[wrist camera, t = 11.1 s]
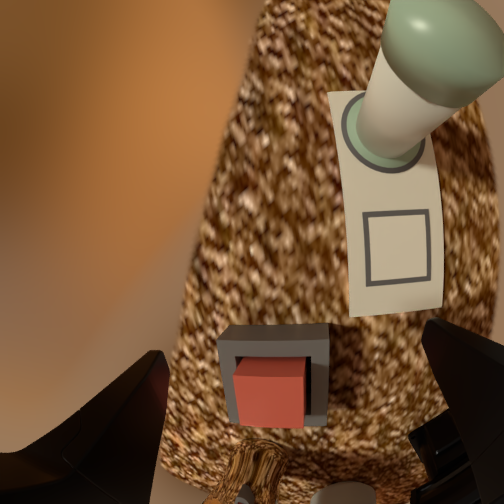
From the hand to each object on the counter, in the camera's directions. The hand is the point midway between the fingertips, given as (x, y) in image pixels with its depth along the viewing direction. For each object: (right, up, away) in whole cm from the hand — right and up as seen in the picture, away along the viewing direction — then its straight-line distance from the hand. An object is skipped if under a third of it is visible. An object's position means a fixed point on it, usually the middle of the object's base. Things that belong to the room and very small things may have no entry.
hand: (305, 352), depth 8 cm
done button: (0, -6, +11) cm, 12 cm away
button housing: (+1, -6, +13) cm, 14 cm away
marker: (+8, +12, +9) cm, 17 cm away
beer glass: (-1, -18, +14) cm, 23 cm away
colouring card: (+8, +7, +9) cm, 14 cm away
